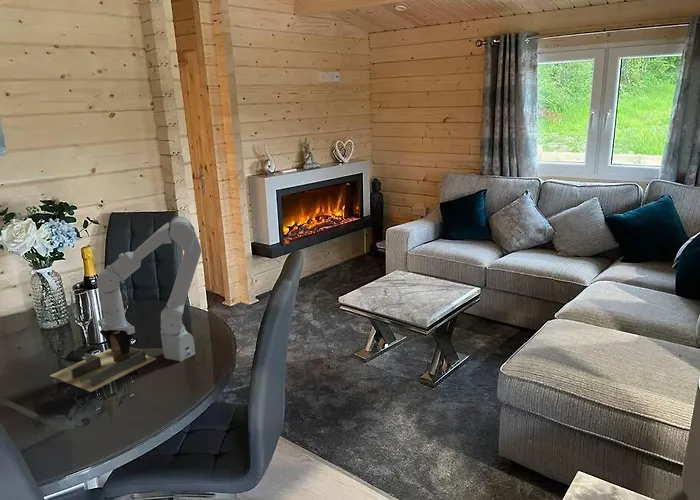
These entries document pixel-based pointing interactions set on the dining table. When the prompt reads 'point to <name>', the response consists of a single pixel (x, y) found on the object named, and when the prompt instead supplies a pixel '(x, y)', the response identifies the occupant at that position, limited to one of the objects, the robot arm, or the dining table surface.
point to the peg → (117, 349)
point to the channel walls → (94, 363)
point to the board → (96, 371)
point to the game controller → (81, 352)
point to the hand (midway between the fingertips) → (120, 351)
